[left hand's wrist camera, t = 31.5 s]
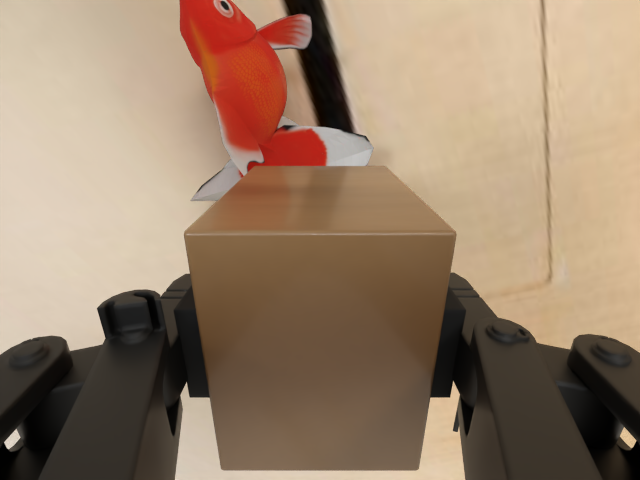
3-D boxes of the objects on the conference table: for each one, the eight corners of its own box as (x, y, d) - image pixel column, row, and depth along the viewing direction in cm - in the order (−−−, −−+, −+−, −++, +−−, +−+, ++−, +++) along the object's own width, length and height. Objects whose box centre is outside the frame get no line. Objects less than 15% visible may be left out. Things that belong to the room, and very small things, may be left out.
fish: (375, -70, 16) (319, -14, 10) (389, 186, 27) (367, 287, 21) (191, -29, 20) (65, 31, 13) (270, 183, 31) (221, 270, 25)
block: (375, 310, 16) (419, 472, 9) (264, 310, 16) (220, 472, 9) (386, 165, 14) (459, 231, 7) (253, 165, 14) (181, 231, 7)
